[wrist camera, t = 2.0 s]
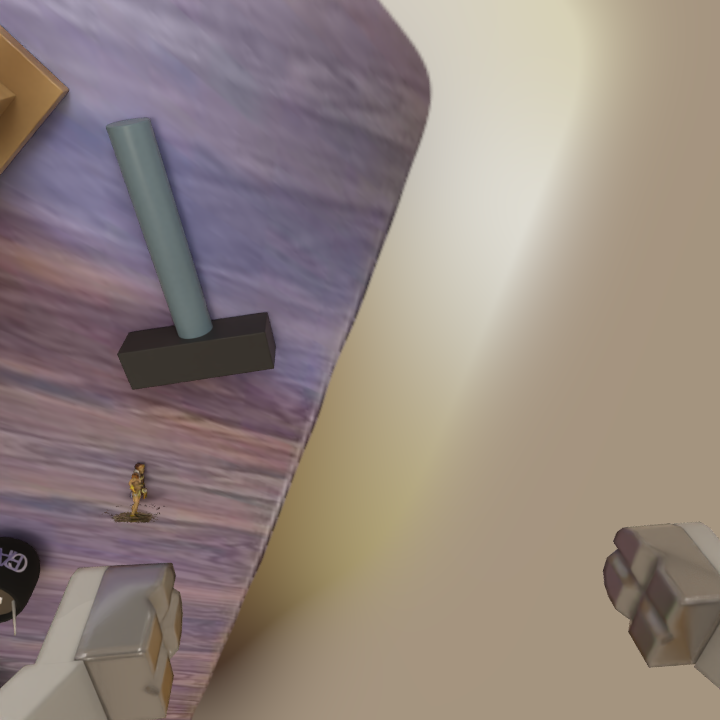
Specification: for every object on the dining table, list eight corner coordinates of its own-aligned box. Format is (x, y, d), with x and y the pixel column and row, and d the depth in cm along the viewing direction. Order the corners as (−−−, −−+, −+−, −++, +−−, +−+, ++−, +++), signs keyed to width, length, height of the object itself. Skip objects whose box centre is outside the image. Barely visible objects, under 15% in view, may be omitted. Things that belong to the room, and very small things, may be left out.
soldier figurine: (141, 521, 43) (145, 465, 44) (124, 520, 43) (128, 465, 43) (147, 514, 45) (151, 461, 46) (131, 514, 45) (135, 461, 45)
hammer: (47, 131, 31) (24, 140, 29) (218, 106, 31) (211, 114, 29) (142, 366, 40) (132, 390, 37) (275, 347, 40) (274, 368, 38)
